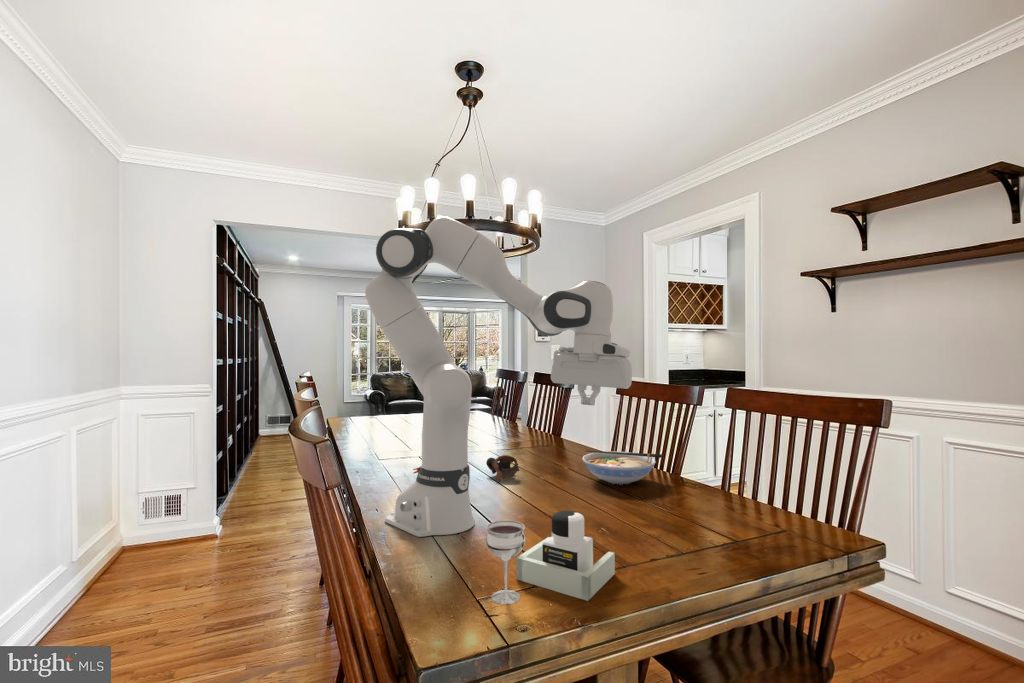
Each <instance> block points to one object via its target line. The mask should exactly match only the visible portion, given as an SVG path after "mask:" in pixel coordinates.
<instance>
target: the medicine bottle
mask: <svg viewBox="0 0 1024 683" xmlns="http://www.w3.org/2000/svg"><path fill="white" fill-rule="evenodd" d="M549 537H550V538H549V539H547V540H546V541H545V542H543V562H546V563H550V564H553V565H557V566H561V567H564V568H568V569H572V570H575V571H579V572H583V573H585V572H586V571H587V570H588V569H589V568H591V567H592V566H593V565H594V539H593V537H591V536H585V517H584V515H583V514H581V513H580V512H578V511H575V510H559V511H557V512H555V513H553V514H552V516H551V536H549Z"/></svg>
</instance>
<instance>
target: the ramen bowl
mask: <svg viewBox="0 0 1024 683" xmlns="http://www.w3.org/2000/svg"><path fill="white" fill-rule="evenodd" d="M585 452H587V454H585V455H583V456H582V461H583V463H584V465H585V466H586V468H587V470H588V471H589V472H590V473H591V474H592V475H593V476H595V477H596V478H597V479H600V480H603V481H605V482H607V483H608V484H610V483H611V485H615V484H617V485H616V486H623V484H626V485H629V484H631V483H633V482H637V481H640V480H641V479H643V478H646V476H648V474H650V473H651V471H652V469H653V468H654V466H655V464H656V462H657V461H656V459H655V458H659V459H660V458H662V457H663V454H662V453H661V454H660V453H644V452H643V453H642V452H641V453H640V452H630V451H629V452H627V451H614V450H613V451H612V450H611V451H601V450H600V451H599V450H585ZM588 452H589V453H588ZM618 484H619V485H618Z"/></svg>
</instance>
